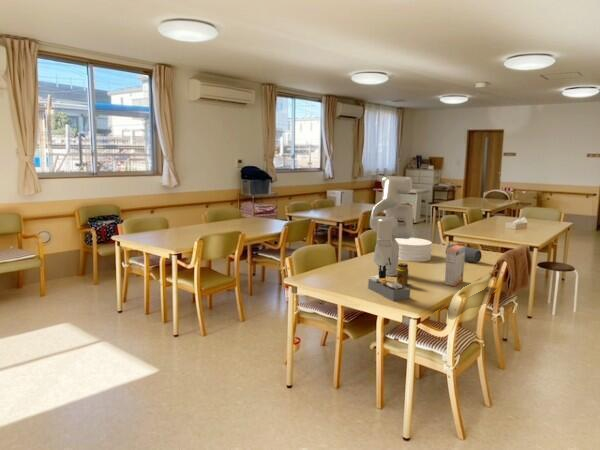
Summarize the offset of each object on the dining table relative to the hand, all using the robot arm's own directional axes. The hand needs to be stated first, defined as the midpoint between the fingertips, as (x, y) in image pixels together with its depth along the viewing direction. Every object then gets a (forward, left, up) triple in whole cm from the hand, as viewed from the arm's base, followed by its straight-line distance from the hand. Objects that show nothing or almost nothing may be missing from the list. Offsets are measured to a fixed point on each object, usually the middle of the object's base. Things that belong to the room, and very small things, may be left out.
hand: (382, 277), depth 234 cm
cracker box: (-51, -4, -9) cm, 52 cm away
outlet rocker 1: (-3, -7, -3) cm, 8 cm away
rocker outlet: (-3, +7, -3) cm, 8 cm away
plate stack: (-70, -67, -9) cm, 97 cm away
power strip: (-4, 0, -9) cm, 10 cm away
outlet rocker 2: (-3, 0, -3) cm, 4 cm away
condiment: (-21, -11, -9) cm, 26 cm away
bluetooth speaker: (-97, -46, -9) cm, 108 cm away
